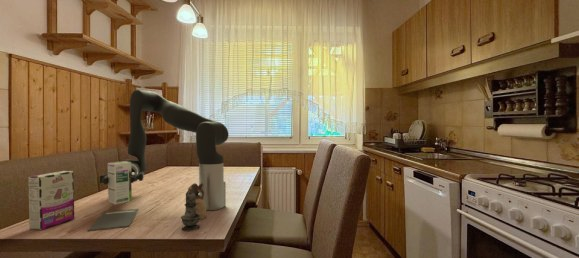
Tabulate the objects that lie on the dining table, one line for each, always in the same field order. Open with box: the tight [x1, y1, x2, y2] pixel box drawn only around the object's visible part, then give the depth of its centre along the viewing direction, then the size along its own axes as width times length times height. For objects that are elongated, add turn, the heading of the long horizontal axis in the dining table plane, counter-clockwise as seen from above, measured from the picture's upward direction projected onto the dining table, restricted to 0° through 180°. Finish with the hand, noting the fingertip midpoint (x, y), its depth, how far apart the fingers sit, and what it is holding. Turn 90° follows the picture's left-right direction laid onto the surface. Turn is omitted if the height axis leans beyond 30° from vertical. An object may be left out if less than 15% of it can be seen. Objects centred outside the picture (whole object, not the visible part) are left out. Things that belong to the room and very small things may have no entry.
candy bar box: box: [27, 170, 75, 231], centre depth 94 cm, size 11×5×16 cm, turn 168°
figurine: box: [184, 183, 207, 222], centre depth 99 cm, size 7×7×12 cm
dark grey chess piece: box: [180, 189, 201, 232], centre depth 90 cm, size 6×6×12 cm
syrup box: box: [107, 160, 133, 206], centre depth 105 cm, size 6×6×14 cm
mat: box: [87, 208, 139, 232], centre depth 98 cm, size 20×11×1 cm, turn 20°
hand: (118, 180), depth 103 cm, fingers closed on syrup box, 8 cm apart
